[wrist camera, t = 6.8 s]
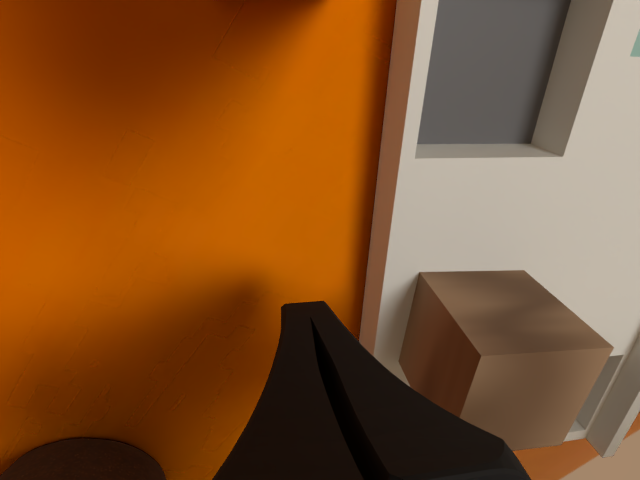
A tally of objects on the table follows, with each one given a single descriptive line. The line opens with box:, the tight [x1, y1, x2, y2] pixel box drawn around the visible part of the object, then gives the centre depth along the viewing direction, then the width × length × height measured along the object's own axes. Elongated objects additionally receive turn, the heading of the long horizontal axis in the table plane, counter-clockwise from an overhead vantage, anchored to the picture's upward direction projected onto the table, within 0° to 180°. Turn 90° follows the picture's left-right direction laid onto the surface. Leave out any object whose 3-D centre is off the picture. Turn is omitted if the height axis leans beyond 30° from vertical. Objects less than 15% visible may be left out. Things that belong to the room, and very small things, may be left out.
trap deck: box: [359, 0, 640, 458], centre depth 16 cm, size 14×26×3 cm, turn 178°
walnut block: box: [398, 270, 614, 451], centre depth 15 cm, size 4×4×4 cm
